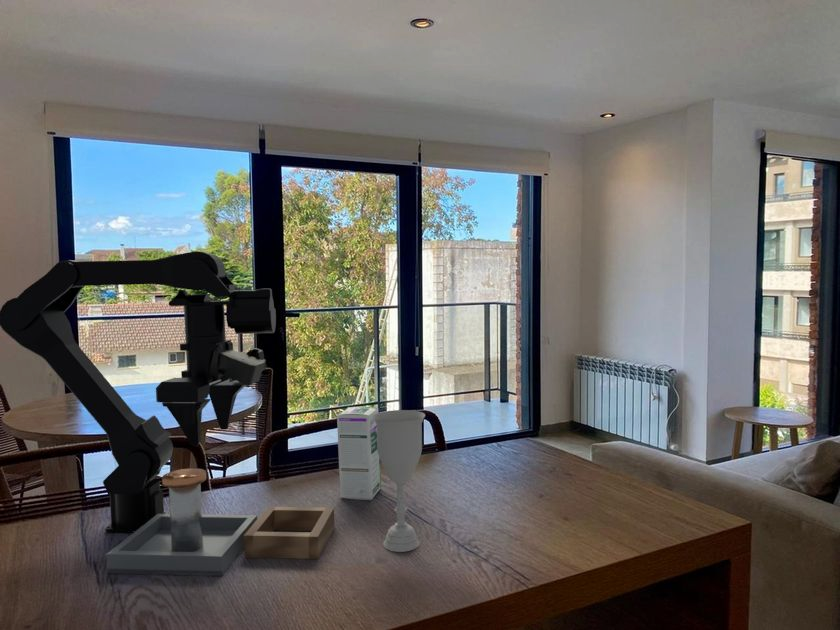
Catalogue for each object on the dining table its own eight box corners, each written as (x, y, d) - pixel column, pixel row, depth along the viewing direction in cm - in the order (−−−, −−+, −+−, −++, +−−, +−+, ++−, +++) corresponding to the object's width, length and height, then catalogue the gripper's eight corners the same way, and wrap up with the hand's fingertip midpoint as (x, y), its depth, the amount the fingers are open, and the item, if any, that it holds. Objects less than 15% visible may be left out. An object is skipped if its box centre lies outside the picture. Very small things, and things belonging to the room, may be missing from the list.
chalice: (387, 559, 79) (384, 424, 78) (367, 539, 85) (364, 414, 84) (436, 547, 83) (434, 417, 81) (413, 529, 89) (411, 408, 87)
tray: (107, 573, 77) (106, 554, 76) (158, 530, 90) (158, 513, 89) (222, 575, 76) (221, 556, 75) (257, 531, 88) (257, 515, 88)
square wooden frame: (244, 557, 80) (243, 535, 80) (268, 526, 90) (268, 506, 90) (318, 558, 80) (317, 536, 80) (334, 527, 90) (334, 507, 89)
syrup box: (372, 500, 100) (370, 414, 99) (338, 498, 101) (336, 413, 100) (381, 488, 106) (380, 406, 105) (349, 486, 107) (347, 405, 106)
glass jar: (157, 555, 80) (153, 481, 79) (177, 537, 86) (174, 468, 85) (198, 556, 80) (195, 482, 79) (215, 538, 85) (212, 468, 84)
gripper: (228, 341, 81) (233, 456, 82) (279, 328, 99) (283, 422, 100) (150, 342, 82) (157, 454, 83) (215, 329, 101) (220, 421, 102)
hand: (210, 436), depth 92 cm, fingers open, 9 cm apart
